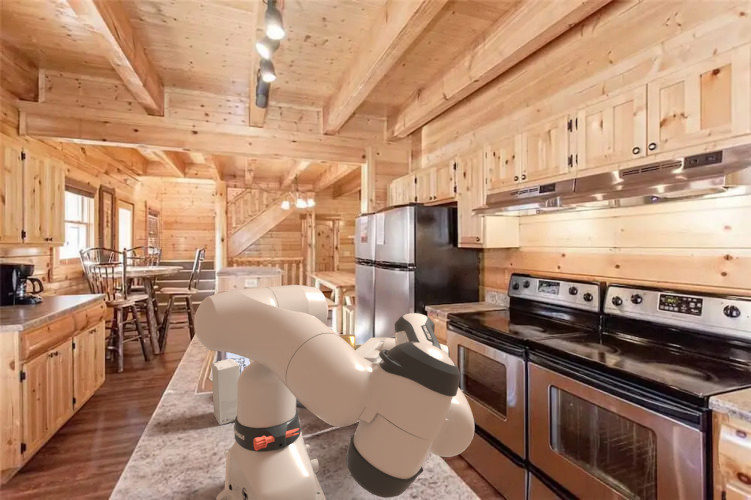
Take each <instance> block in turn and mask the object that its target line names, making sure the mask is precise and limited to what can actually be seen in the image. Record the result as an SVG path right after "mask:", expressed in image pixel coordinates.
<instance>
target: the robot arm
mask: <svg viewBox="0 0 751 500" xmlns="http://www.w3.org/2000/svg"><path fill="white" fill-rule="evenodd" d="M195 311H196V312H195V315H194V318H193V319H194V322H193V325H194V332H195V335H196V338H197V339H198V341H199V342H200V343H201V345H202V346H203V347H205V348H206V349H207V350H209V351H216V352H221V353H222V352H223V353H228V354H232V355H235V356H236V355H237V356H240V357H243V358H246V359H247V360H249V359H250V360H253V362H252V363H251V364H248V365H246V366H245V368H244V369H243V370H242V371H241V373H240V376H239V379H238V382H237V416H236V418H235V422H234V425H233V432H234V443H233V444H232V447H230V449H229V450H228V452H227V453H226V455H225V456H226V459H225V475H224V476H225V479H224V489H223V490H222V491H220V492H219V493H218V494H217V496H216V498H215V500H327V498H326V495H325V494H324V493H325V492H324V491H323V488H322V486H321V483H320V481H319V479H318V476H317V474H316V473H318V472H320V465H319V460H318V459H317V458H314V459H310V457H309V452H310V445H309V443H308V444H307V443H306V444H305V441H304V438H303V433H302V429H301V420H300V415H299V411H298V409H297V407H296V399H298V400H299V401H300V402H301V403H302V404H303V405H304V406H305V407H306V408H307V410H308V411H309V412H310V413H311V414H313V415H315V416H316V417H317V418H319V419H320V420H321V421H323V422H325V423H326V424H328V425H330V426H332V427H336V428H337V427H338V428H343V427H348V426H351V425H355V424H356V423H357V422H358V423H357V427H356V430H355V432H354V434H352V436H350V441H349V444H348V447H347V452H346V458H345V460H346V461H345V463H346V467H347V469H348V471H349V473H350V474H351V476H352V478H353V480H354V481H355V482H356V483H357V485H359V486H360V487H361V488H362V489H363V490H365V491H367V492H368V493H370V494H372V495H374V496H376V497H380V498H386V499H389V498H390V499H391V498H395V497H399V496H401V495H402V494H403V493H404V492H405V491H407V490H408V488H410V486H411V485H412V484H413V483H414V481H415V480H416V479H417V478H418V477H419V476H420V475H421V474H422V473H423V472H424V468H423V465H424V463H425V462H426V460H427V458H428V455H429V454H434V455H435V456H439V457H443V458H451V457H455V456H458V455H460V454H461V453H463V452H464V451H465V450H467V448H468V447H469V446H470V445H471V442H472V441H473V439H474V436H475V435H474V434H475V419H474V416H473V412H472V408H471V406H470V404H469V401H468V399H467V397H466V395H465V394H464V393H463V391H462V389H460V387H459V386H460V382H461V372H460V369H459V367H458V365H457V364H456V363H455V362H454V361H453V360H452V359H451V352H450V349H449V347H448V345H447V344H443V343H440V341H439V340H438V337H437V336H436V334H435V330H436V324H435V323H434V321H433V320H432V319H431V318H430V317H429V316H428V315H425V314H422V313H418V312H411V313H406V314H405V313H404V314H402V315H400V317H399V318H398V319H397V320H396V321H395V323H394V335H393V336H391V337H387V336H386V337H384V336H383V337H381V336H379V337H378V336H377V337H370V338H369V339H368V340H366V341H365V342H364V343H355V350H354V349H353V348H352V347H351V346H350V345H349V344H348V343H347V342H346V341H345V340H343V339H342V338H341V337H340V336H341V335H339V334H337V332H335V331H333V330H332V329H331V328H330V327H328V326H327V325H326V323H327V321H328V318H329V317H328V316H329V304H328V301H327V298H326V296H325V295H324V293H323V292H322V291H321V290H320V289H319V288H318V287H314V286H309V285H302V284H286V285H285V284H284V285H276V286H275V285H273V286H264V287H252V288H239V289H230V290H226V291H223V292H219V293H215V294H212V295H209V296H206V297H204V299H203V300H202V301H201V302H200V304H199V306H198V307H197V309H196V310H195ZM306 408H305V409H306Z"/></svg>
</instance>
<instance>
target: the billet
mask: <svg viewBox="0 0 751 500" xmlns="http://www.w3.org/2000/svg"><path fill="white" fill-rule="evenodd" d="M339 336H340V337H341V338H342V339H343V340H345V341H346V342H347V343H348V344H349V345H350V346H351V347H352V348H353V349H354V350H355V345H356V335H355V334H347V333H346V334H342V335H339Z"/></svg>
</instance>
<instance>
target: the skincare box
mask: <svg viewBox="0 0 751 500" xmlns="http://www.w3.org/2000/svg"><path fill="white" fill-rule="evenodd" d="M211 374H212V376H211V377H212V378H211V379H212V401H213V402H212V403H213V405H212V406H213V416H214V417H215V419H216V422H217V423H218V425H219V426H223V425H225V424H229V423H235V418H236V416H237V382H238V379H239V376H240V374H241V373H240V364H239V363H238V362H237V361H235V359H233V358H229V359H223V360H219V361H214V362H211Z"/></svg>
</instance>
